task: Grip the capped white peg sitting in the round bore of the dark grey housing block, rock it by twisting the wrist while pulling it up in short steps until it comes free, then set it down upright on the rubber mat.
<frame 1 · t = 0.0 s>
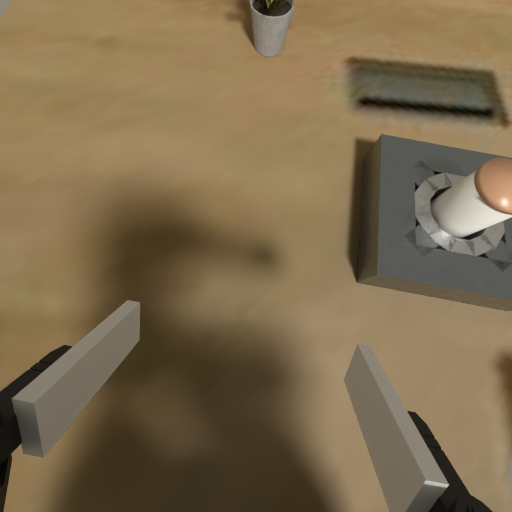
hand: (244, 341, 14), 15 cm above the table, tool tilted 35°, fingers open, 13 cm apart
capped white peg: (462, 210, 29), in the housing
house plant: (271, 52, 44), on the table
housing: (429, 228, 34), on the table
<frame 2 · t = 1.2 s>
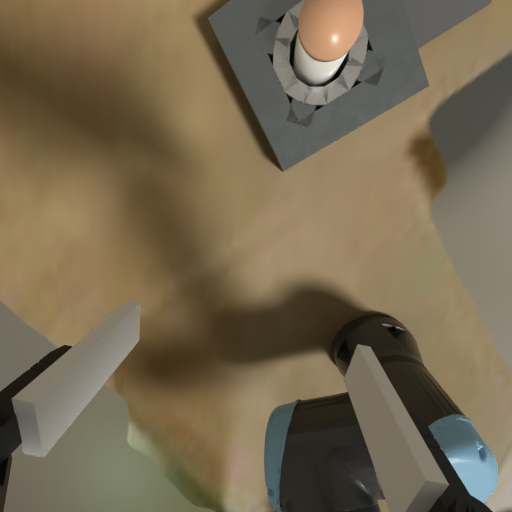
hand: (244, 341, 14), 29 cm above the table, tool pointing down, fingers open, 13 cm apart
capped white peg: (320, 49, 28), in the housing
housing: (312, 69, 34), on the table
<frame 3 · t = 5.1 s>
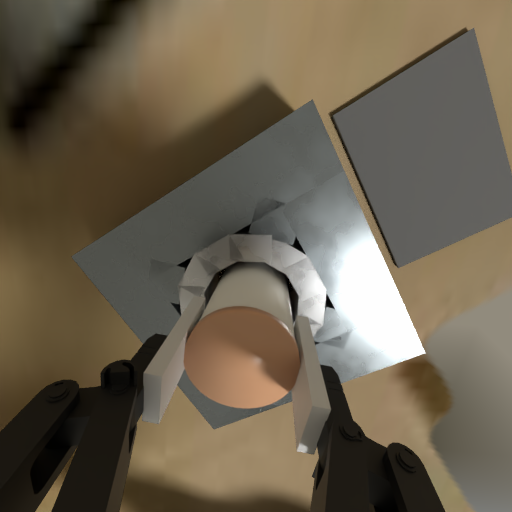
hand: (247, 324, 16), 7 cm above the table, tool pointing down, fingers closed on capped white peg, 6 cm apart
rubber mat: (427, 166, 19), on the table
capped white peg: (250, 309, 18), in the housing, touching gripper
housing: (255, 279, 23), on the table
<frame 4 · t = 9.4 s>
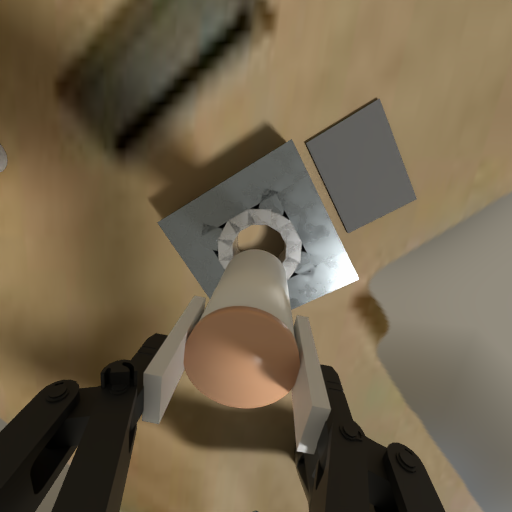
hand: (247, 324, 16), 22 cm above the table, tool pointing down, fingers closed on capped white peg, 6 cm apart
rubber mat: (361, 171, 33), on the table
capped white peg: (250, 309, 18), point 20 cm above the table, touching gripper
house plant: (0, 158, 36), on the table
housing: (260, 241, 37), on the table
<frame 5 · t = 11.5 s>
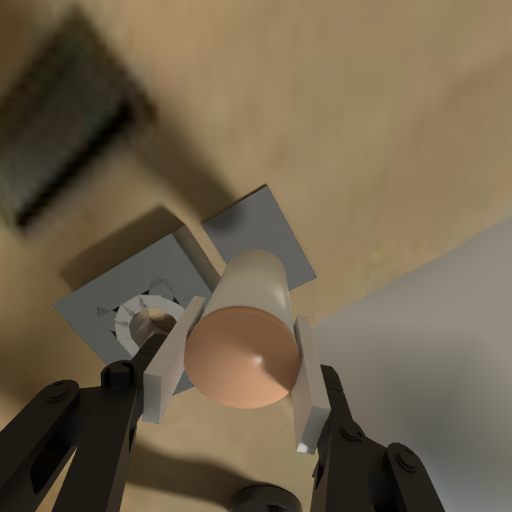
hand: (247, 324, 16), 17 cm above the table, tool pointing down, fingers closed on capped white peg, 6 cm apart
rubber mat: (260, 250, 32), on the table
capped white peg: (250, 308, 18), point 16 cm above the table, touching gripper
housing: (170, 312, 37), on the table
when the fingers open (9 cm above the table, at t = 13.6 s): capped white peg drops 2 cm, resting on rubber mat.
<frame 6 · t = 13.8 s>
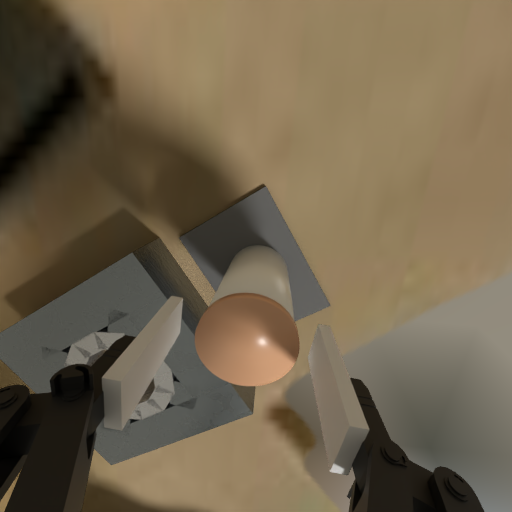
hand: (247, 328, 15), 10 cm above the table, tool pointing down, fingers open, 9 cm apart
rubber mat: (256, 271, 25), on the table
capped white peg: (253, 299, 19), on the rubber mat
housing: (144, 345, 29), on the table
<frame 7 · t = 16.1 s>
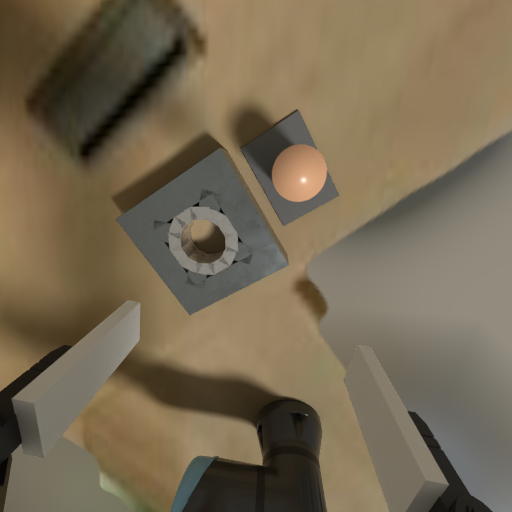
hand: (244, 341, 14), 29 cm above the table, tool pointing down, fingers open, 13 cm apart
rubber mat: (290, 172, 38), on the table
capped white peg: (294, 173, 32), on the rubber mat
housing: (210, 234, 42), on the table
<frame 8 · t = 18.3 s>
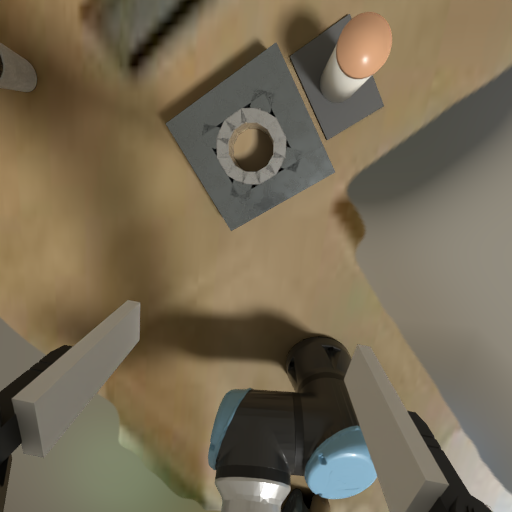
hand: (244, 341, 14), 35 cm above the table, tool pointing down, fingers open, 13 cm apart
rubber mat: (337, 82, 39), on the table
capped white peg: (349, 66, 33), on the rubber mat
house plant: (31, 78, 42), on the table
housing: (253, 151, 43), on the table
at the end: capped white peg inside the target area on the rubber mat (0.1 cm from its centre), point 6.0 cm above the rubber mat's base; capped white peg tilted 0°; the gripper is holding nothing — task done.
